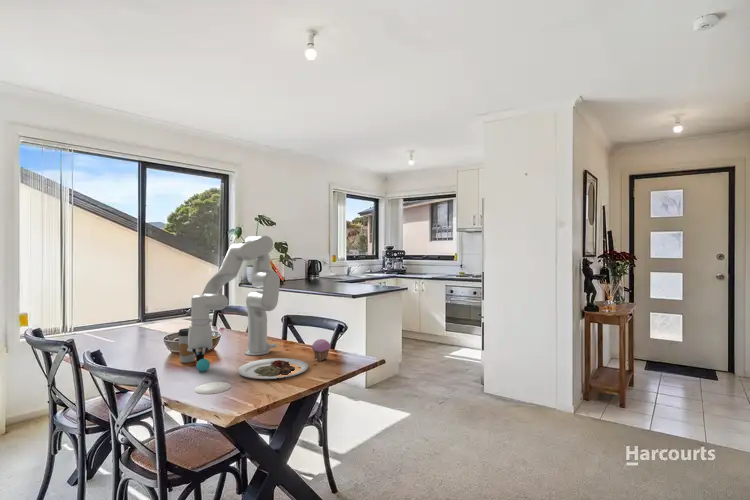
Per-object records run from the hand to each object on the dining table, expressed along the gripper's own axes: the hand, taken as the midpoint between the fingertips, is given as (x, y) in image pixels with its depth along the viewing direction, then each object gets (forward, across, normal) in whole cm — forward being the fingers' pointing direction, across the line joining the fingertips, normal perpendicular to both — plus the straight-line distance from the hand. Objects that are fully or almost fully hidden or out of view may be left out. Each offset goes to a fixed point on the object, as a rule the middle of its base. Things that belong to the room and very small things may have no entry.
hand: (200, 362), depth 190 cm
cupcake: (+2, -52, +17) cm, 55 cm away
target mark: (+2, 0, +34) cm, 34 cm away
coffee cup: (+2, +4, -12) cm, 13 cm away
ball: (-1, 0, +9) cm, 9 cm away
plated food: (+2, -27, +23) cm, 35 cm away
